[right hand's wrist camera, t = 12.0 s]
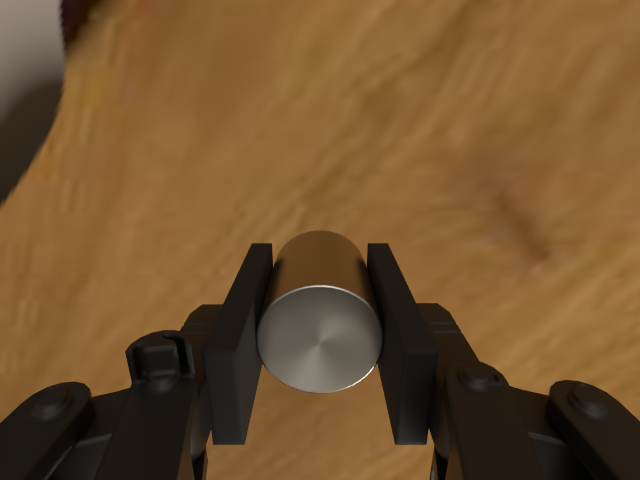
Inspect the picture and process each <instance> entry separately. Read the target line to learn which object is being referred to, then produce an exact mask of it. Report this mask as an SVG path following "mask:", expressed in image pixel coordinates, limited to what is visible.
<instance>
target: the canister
mask: <svg viewBox="0 0 640 480" xmlns="http://www.w3.org/2000/svg"><path fill="white" fill-rule="evenodd" d="M383 346H384V329H383V326H382V322H381V318H380V315H379V311H378V307H377V304H376V300H375V297H374V293H373V289H372V286H371V282H370V279H369V275H368V271H367V268H366V264H365V261H364V258H363V256H362V254H361V252H360V251H359V249H358V248H357V247H356V246H355V245H354V244H353V243H352V242H351V241H350V240H348V239H347V238H345V237H344V236H342V235H339V234H337V233H334V232H330V231H310V232H306V233H303V234H300V235H298V236H296V237H294V238H293V239H291V240H290V241H289V242H287V243H286V244H285V245H284V246H283V248H282V249H281V250H280V252H279V254H278V255H277V258H276V260H275V264H274V267H273V271H272V274H271V278H270V281H269V285H268V289H267V292H266V296H265V299H264V303H263V306H262V310H261V314H260V317H259V321H258V324H257V329H256V347H257V352H258V354H259V357H260V359H261V361H262V363H263V365H264V366H265V368H266V369H267V370H268V371H269V373H271V374H272V375H273V376H274V377H275V378H276V379H277V380H279V381H280V382H282V383H283V384H285V385H287V386H289V387H291V388H294V389H297V390H300V391H304V392H309V393H330V392H336V391H340V390H343V389H346V388H349V387H351V386H353V385H355V384H356V383H358V382H360V381H361V380H362V379H364V378H365V377H366V376H367V375H368V374H369V373H370V372H371V371H372V370H373V369H374V367H375V366H376V364H377V363H378V361H379V359H380V356H381V354H382V351H383Z"/></svg>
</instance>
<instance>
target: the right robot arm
mask: <svg viewBox="0 0 640 480" xmlns="http://www.w3.org/2000/svg"><path fill="white" fill-rule="evenodd" d="M272 271H273V258H272V243H252V245H251V247H250V249H249V251H248V253H247V255H246V257H245V259H244V261H243V264H242V266H241V268H240V270H239V272H238V274H237V276H236V278H235V280H234V283H233V285H232V287H231V289H230V291H229V293H228V295H227V297H226V299H225V302H224V304H223V305H201V306H200V307H198V308H197V309H196V310H194V311H193V312H192V313H190V315H189V317H188V318H187V320H186V322H185V323H184V326H183V327H182V328H181V330H180V331H176V330H163V331H159V332H154V333H150V334H148V335H146V336H143V337H141V338H139V339H138V340H136V341H135V342H133V343H132V344H131V345H130V346H129V347H128V349H127V350H126V351H125V353H126V358H127V362H128V367H129V371H130V376H131V380H132V385H131V387H130V388H128V389H124V390H121V391H117V392H113V393H108V394H104V395H99V396H95V397H92V396H91V392H90V389H89V388H88V387H87V386H86V385H85V384H83V383H79V382H65V383H60V384H56V385H53V386H50V387H47V388H45V389H43V390H41V391H39V392H37V393H35V394H33V395H32V396H31V397H29V398H28V399H27V400H25V401H24V402H23V403H21V404H20V405H19V406H18V407H17V408H16V409H15V410H14V411H13V412H12V413H11V414H10V415H9V416H8V417H7V418H6V419H4V420H3V421H2V422H1V423H0V480H206V474H207V464H208V459H207V452H206V443H207V440H208V437H209V434H210V431H212V438H213V445H244V444H245V440H246V435H247V431H248V426H249V422H250V417H251V412H252V408H253V403H254V399H255V394H256V390H257V385H258V380H259V376H260V371H261V367H262V361H261V359H260V357H259V354H258V352H257V347H256V329H257V324H258V321H259V317H260V314H261V310H262V306H263V303H264V299H265V296H266V292H267V289H268V285H269V281H270V278H271V274H272ZM367 271H368V275H369V279H370V282H371V286H372V289H373V293H374V297H375V300H376V304H377V307H378V311H379V315H380V318H381V322H382V326H383V329H384V346H383V351H382V354H381V356H380V359H379V361H378V368H379V372H380V377H381V382H382V386H383V391H384V395H385V400H386V404H387V409H388V414H389V418H390V423H391V427H392V432H393V436H394V441H395V445H426V444H427V436H428V429H429V430H430V433H431V436H432V439H433V442H434V452H433V459H432V466H431V473H430V480H640V421H639V420H638V419H637V418H636V417H635V416H634V415H632V414H631V413H630V412H629V411H628V410H627V409H626V408H625V407H624V406H623V405H622V404H621V403H620V402H619V401H617V400H616V399H615V398H613V397H612V396H611V395H609V394H608V393H607V392H605V391H603V390H601V389H599V388H597V387H595V386H593V385H589V384H586V383H583V382H579V381H571V380H563V381H558V382H555V383H554V384H553V385H552V386H551V387H550V391H549V394H548V395H543V394H539V393H534V392H530V391H525V390H521V389H518V388H514V387H511V386H509V384H508V382H507V380H506V379H505V378H504V376H503V375H502V374H501V373H500V372H499V371H497V370H496V369H495V368H493V367H491V366H489V365H487V364H485V363H483V362H480V361H479V360H478V358H477V357H476V355H475V353H474V352H473V350H472V348H471V347H470V345H469V343H468V342H467V340H466V339H465V337H464V335H463V334H462V333H461V330H460V329H459V327H458V325H456V322H455V321H454V319H453V317H452V316H451V314H450V312H448V311H447V310H446V309H444V308H443V307H442V306H440V305H439V304H438V303H416V302H415V300H414V298H413V296H412V294H411V292H410V289H409V287H408V285H407V283H406V281H405V279H404V277H403V275H402V273H401V270H400V268H399V266H398V264H397V262H396V260H395V258H394V256H393V254H392V251H391V249H390V247H389V245H388V243H368V252H367Z"/></svg>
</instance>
